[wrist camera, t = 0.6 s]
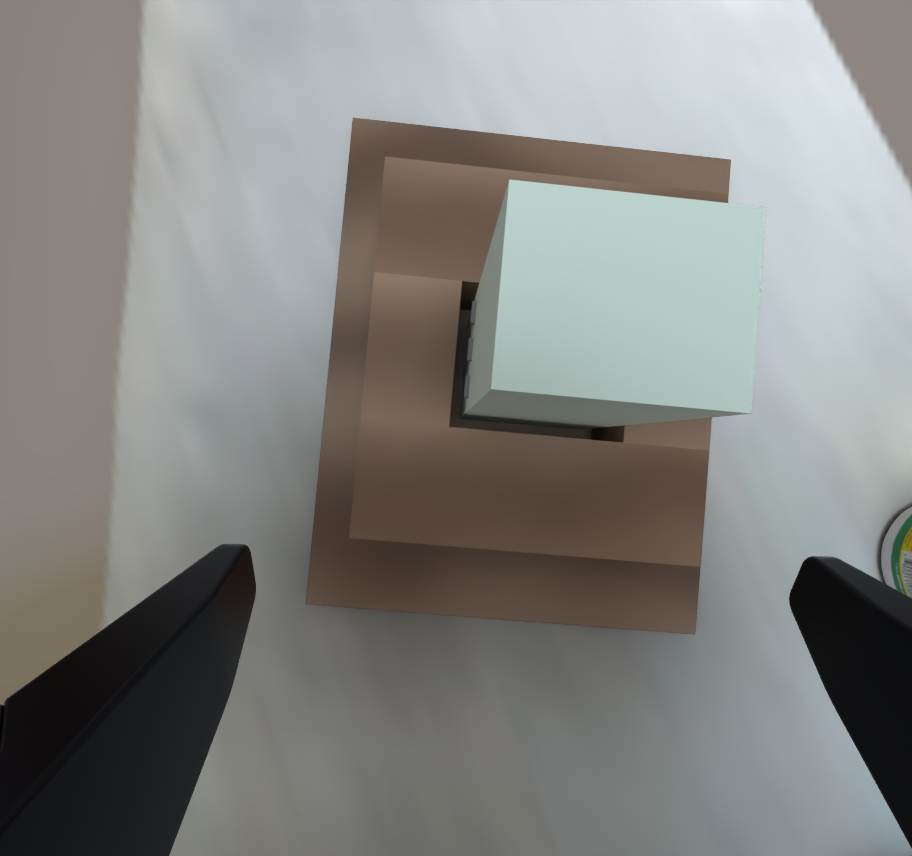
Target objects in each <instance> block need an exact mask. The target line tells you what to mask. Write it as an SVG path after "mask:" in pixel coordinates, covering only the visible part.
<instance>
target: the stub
mask: <svg viewBox="0 0 912 856" xmlns="http://www.w3.org/2000/svg"><path fill="white" fill-rule="evenodd" d="M765 219H766V207H759V206H750V205H741V204H732V203H722V202H713V201H704V200H695V199H685V198H676V197H667V196H658V195H648V194H639V193H630V192H621V191H611V190H602V189H593V188H584V187H574V186H565V185H556V184H547V183H537V182H528V181H519V180H510V179H509V182H508V186H507V189H506V193H505V196H504V200H503V203H502V206H501V210H500V213H499V217H498V220H497V224H496V227H495V231H494V234H493V238H492V241H491V245H490V248H489V252H488V255H487V259H486V262H485V265H484V269H483V272H482V276H481V279H480V283H479V286H478V290H477V293H476V297H475V300H474V301H472V308H471V314H470V317H469V321H468V330H467V342H466V353H465V364H464V375H463V386H462V398H461V409H460V419H470V420H480V421H491V422H502V423H513V424H524V425H535V426H546V427H557V428H568V429H579V430H582V429H592V428H603V427H614V426H624V425H635V424H645V423H656V422H667V421H677V420H688V419H699V418H709V417H720V416H731V415H741V414H751V411H752V397H753V383H754V370H755V356H756V342H757V328H758V315H759V301H760V287H761V274H762V260H763V246H764V232H765Z"/></svg>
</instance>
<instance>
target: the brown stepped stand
mask: <svg viewBox="0 0 912 856" xmlns="http://www.w3.org/2000/svg"><path fill="white" fill-rule="evenodd" d="M730 165H731V160H729V159H720V158H711V157H702V156H693V155H684V154H675V153H666V152H657V151H648V150H639V149H630V148H621V147H612V146H603V145H594V144H585V143H576V142H567V141H558V140H549V139H540V138H531V137H522V136H513V135H504V134H495V133H486V132H477V131H468V130H459V129H450V128H441V127H432V126H423V125H414V124H405V123H396V122H387V121H378V120H369V119H360V118H353V122H352V132H351V143H350V153H349V163H348V174H347V184H346V194H345V204H344V215H343V225H342V235H341V246H340V256H339V266H338V277H337V287H336V297H335V308H334V318H333V328H332V339H331V349H330V359H329V370H328V380H327V390H326V401H325V411H324V421H323V432H322V442H321V452H320V462H319V473H318V483H317V493H316V504H315V514H314V524H313V535H312V545H311V555H310V566H309V576H308V586H307V597H306V604H309V605H322V606H335V607H348V608H361V609H374V610H387V611H399V612H412V613H425V614H438V615H451V616H464V617H477V618H489V619H502V620H515V621H528V622H541V623H554V624H567V625H579V626H592V627H605V628H618V629H631V630H644V631H657V632H669V633H682V634H695V631H696V617H697V604H698V591H699V577H700V566H701V553H702V539H703V526H704V513H705V499H706V486H707V473H708V459H709V446H710V433H711V420H712V417H709V418H699V419H688V420H677V421H667V422H656V423H645V424H635V425H624V426H614V427H603V428H592V429H582V430H579V429H568V428H557V427H546V426H535V425H524V424H513V423H502V422H491V421H480V420H470V419H460V409H461V398H462V386H463V375H464V364H465V353H466V342H467V330H468V321H469V317H470V314H471V308H472V301H474V300H475V297H476V293H477V290H478V286H479V283H480V279H481V276H482V272H483V269H484V265H485V262H486V259H487V255H488V252H489V248H490V245H491V241H492V238H493V234H494V231H495V227H496V224H497V220H498V217H499V213H500V210H501V206H502V203H503V200H504V196H505V193H506V189H507V186H508V182H509V179H510V180H519V181H528V182H537V183H547V184H556V185H565V186H574V187H584V188H593V189H602V190H611V191H621V192H630V193H639V194H648V195H658V196H667V197H676V198H685V199H695V200H704V201H713V202H722V203H728V192H729V179H730Z"/></svg>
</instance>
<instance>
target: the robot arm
mask: <svg viewBox="0 0 912 856" xmlns="http://www.w3.org/2000/svg"><path fill="white" fill-rule="evenodd" d="M255 594H256V582H255V576H254V570H253V563H252V557H251V552H250V549H249V547H248V546H246V545H244V544H222V545H220V546H218V547H216V548H215V549H214V550H212V551H211V552H209V553H208V554H207V555H205V556H204V557H203V558H201V559H200V560H198V561H197V562H196V563H194V564H193V565H191V566H190V567H189V568H187V569H186V570H185V571H183V572H182V573H180V574H179V575H178V576H176V577H175V578H173V579H172V580H171V581H169V582H168V583H167V584H165V585H164V586H162V587H161V588H160V589H158V590H157V591H155V592H154V593H153V594H151V595H150V596H149V597H147V598H146V599H144V600H143V601H142V602H140V603H139V604H137V605H136V606H135V607H133V608H132V609H130V610H129V611H128V612H126V613H125V614H124V615H122V616H121V617H119V618H118V619H117V620H115V621H114V622H112V623H111V624H110V625H108V626H107V627H106V628H104V629H103V630H101V631H100V632H99V633H98V634H96V635H94V636H93V637H92V638H90V639H89V640H88V641H86V642H85V643H83V644H82V645H81V646H79V647H78V648H77V649H75V650H74V651H72V652H71V653H70V654H68V655H67V656H65V657H64V658H63V659H61V660H60V661H58V662H57V663H56V664H54V665H53V666H52V667H50V668H49V669H47V670H46V671H45V672H43V673H42V674H40V675H39V676H38V677H36V678H35V679H34V680H32V681H31V682H29V683H28V684H27V685H25V686H24V687H23V688H21V689H20V690H18V691H17V692H16V693H14V694H13V695H12V696H10V697H9V698H7V699H6V700H5V702H4V705H0V856H169V855H170V852H171V849H172V847H173V844H174V841H175V839H176V836H177V833H178V831H179V828H180V825H181V823H182V820H183V818H184V815H185V812H186V810H187V807H188V804H189V802H190V799H191V796H192V794H193V791H194V788H195V786H196V783H197V781H198V778H199V775H200V773H201V770H202V767H203V765H204V762H205V759H206V757H207V754H208V751H209V749H210V746H211V744H212V741H213V738H214V736H215V733H216V730H217V728H218V725H219V722H220V720H221V717H222V714H223V712H224V709H225V707H226V704H227V701H228V698H229V695H230V692H231V689H232V685H233V682H234V678H235V675H236V671H237V667H238V663H239V659H240V655H241V651H242V647H243V643H244V639H245V635H246V631H247V628H248V624H249V620H250V616H251V612H252V608H253V604H254V600H255ZM789 601H790V607H791V610H792V613H793V615H794V617H795V620H796V622H797V624H798V627H799V629H800V631H801V634H802V636H803V638H804V641H805V643H806V645H807V647H808V650H809V652H810V654H811V657H812V659H813V661H814V664H815V666H816V668H817V671H818V673H819V675H820V678H821V680H822V682H823V684H824V687H825V689H826V691H827V693H828V695H829V697H830V699H831V701H832V703H833V705H834V707H835V709H836V711H837V713H838V715H839V717H840V718H841V720H842V722H843V724H844V726H845V727H846V729H847V731H848V733H849V735H850V737H851V738H852V740H853V742H854V744H855V746H856V748H857V749H858V751H859V753H860V755H861V757H862V759H863V760H864V762H865V764H866V766H867V768H868V769H869V771H870V773H871V775H872V777H873V779H874V780H875V782H876V784H877V786H878V788H879V790H880V791H881V793H882V795H883V797H884V799H885V801H886V802H887V804H888V806H889V808H890V810H891V811H892V813H893V815H894V817H895V819H896V821H897V822H898V824H899V826H900V828H901V830H902V832H903V833H904V835H905V837H906V839H907V841H908V843H909V844H910V846H911V848H912V598H910V597H909V596H907V595H905V594H903V593H901V592H899V591H897V590H896V589H894V588H892V587H890V586H888V585H886V584H884V583H883V582H881V581H879V580H877V579H875V578H873V577H871V576H870V575H868V574H866V573H864V572H862V571H860V570H858V569H857V568H855V567H853V566H851V565H849V564H847V563H845V562H844V561H842V560H840V559H838V558H835V557H822V556H812V557H808V558H807V559H806V560H805V561H804V562H803V564H802V566H801V568H800V571H799V573H798V575H797V578H796V580H795V582H794V585H793V587H792V589H791V592H790V597H789Z"/></svg>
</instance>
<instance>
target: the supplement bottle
mask: <svg viewBox="0 0 912 856" xmlns="http://www.w3.org/2000/svg"><path fill="white" fill-rule="evenodd" d="M881 566H882V572H883V576H884V579H885V582H886V584H887V585H888V586H890V587H892V588H894V589H896V590H897V591H899V592H901V593H903V594H905V595H907V596H909V597H910V598H912V507H910V508H908V509H907V510H905V511H903V512H902V513H901V514H900V515H899V517H898V518H897V519H896V520H895V521H894V522H893V524H892V525H891V527H890V528H889V530H888V532H887V534H886V536H885V539H884V541H883V545H882V552H881Z"/></svg>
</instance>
